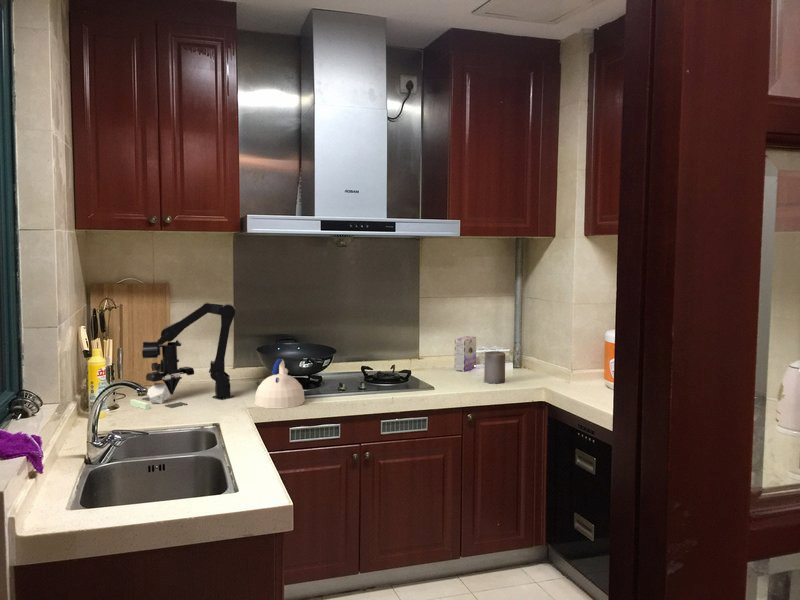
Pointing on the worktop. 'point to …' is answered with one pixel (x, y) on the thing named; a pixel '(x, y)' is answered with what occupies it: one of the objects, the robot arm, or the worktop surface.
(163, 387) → the die
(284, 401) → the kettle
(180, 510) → the worktop surface
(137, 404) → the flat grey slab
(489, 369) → the pillar candle
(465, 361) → the candy box
